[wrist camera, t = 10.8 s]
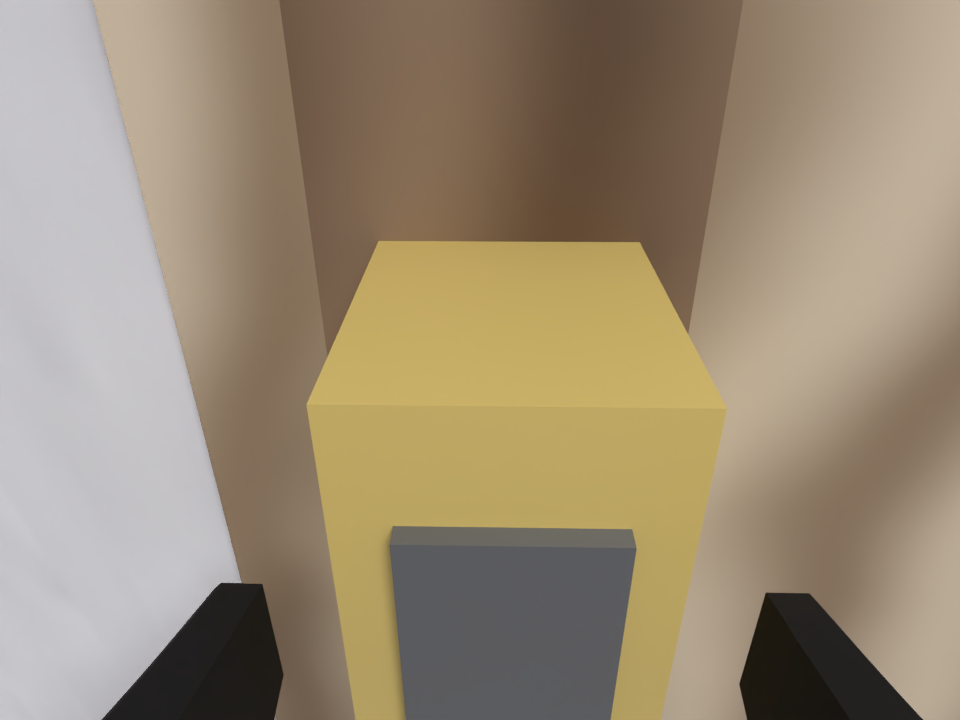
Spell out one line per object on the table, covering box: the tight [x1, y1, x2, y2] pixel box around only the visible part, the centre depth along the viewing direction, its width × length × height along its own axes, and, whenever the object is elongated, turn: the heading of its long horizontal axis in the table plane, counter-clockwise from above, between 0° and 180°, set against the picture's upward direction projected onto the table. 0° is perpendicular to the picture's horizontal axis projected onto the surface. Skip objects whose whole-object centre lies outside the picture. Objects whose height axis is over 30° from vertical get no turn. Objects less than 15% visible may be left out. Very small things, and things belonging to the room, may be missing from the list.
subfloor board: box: [93, 0, 960, 720], centre depth 14 cm, size 19×20×1 cm
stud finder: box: [306, 241, 727, 720], centre depth 11 cm, size 4×9×5 cm, turn 0°
